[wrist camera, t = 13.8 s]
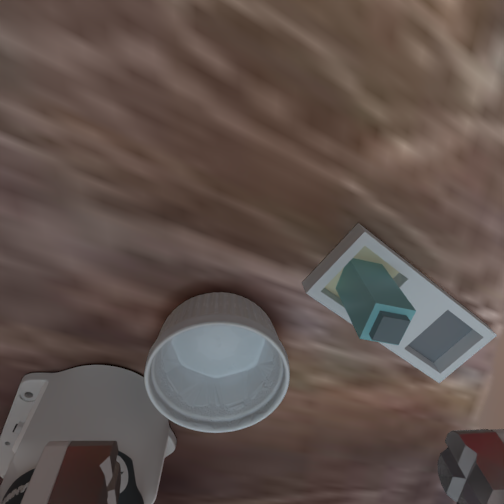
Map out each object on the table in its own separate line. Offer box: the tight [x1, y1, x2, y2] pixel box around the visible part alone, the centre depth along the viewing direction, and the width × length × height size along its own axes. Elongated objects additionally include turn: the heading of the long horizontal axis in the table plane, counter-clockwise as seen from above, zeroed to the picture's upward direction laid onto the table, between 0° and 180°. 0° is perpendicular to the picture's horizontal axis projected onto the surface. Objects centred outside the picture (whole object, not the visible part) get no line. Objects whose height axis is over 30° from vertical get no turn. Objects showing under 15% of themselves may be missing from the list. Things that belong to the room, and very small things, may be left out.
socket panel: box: [302, 223, 497, 383], centre depth 44 cm, size 8×20×2 cm, turn 51°
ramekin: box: [144, 292, 290, 433], centre depth 42 cm, size 13×13×7 cm
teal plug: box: [336, 258, 416, 345], centre depth 39 cm, size 4×4×9 cm
